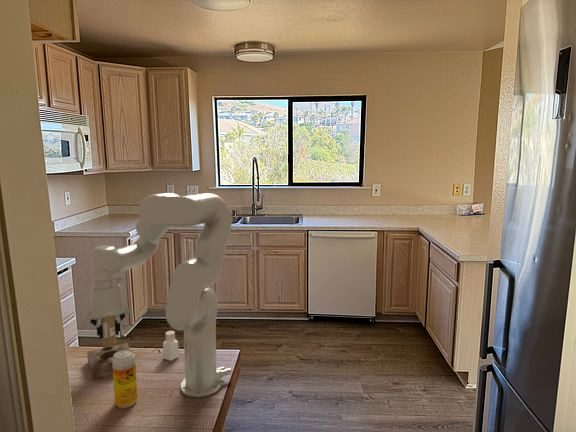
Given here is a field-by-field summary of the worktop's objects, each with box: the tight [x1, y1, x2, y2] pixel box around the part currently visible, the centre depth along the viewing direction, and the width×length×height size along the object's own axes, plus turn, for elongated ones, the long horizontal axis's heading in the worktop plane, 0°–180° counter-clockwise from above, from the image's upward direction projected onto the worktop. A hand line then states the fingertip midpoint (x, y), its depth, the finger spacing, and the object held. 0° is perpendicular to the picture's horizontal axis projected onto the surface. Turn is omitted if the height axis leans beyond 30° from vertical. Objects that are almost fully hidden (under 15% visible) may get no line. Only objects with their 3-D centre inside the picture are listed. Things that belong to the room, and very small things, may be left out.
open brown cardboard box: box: [86, 342, 131, 382], centre depth 135 cm, size 13×14×6 cm
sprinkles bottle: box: [101, 312, 118, 347], centre depth 133 cm, size 5×5×14 cm
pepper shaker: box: [162, 330, 180, 362], centre depth 140 cm, size 4×4×10 cm
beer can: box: [112, 349, 138, 409], centre depth 114 cm, size 6×6×15 cm
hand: (108, 334), depth 134 cm, fingers closed on sprinkles bottle, 4 cm apart
